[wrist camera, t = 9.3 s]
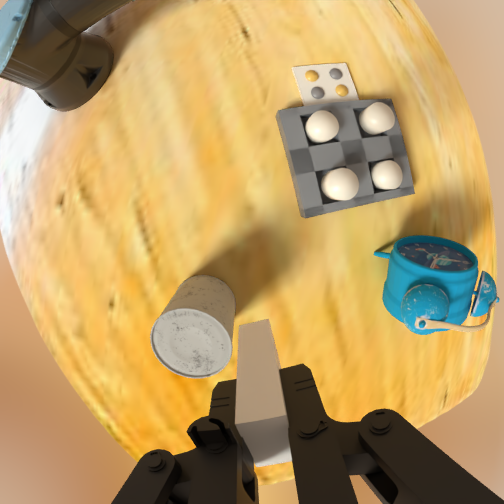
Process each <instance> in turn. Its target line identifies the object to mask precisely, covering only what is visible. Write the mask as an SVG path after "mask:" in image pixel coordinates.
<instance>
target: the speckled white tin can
mask: <svg viewBox="0 0 504 504" xmlns="http://www.w3.org/2000/svg"><path fill="white" fill-rule="evenodd" d="M235 310H236V302H235V297H234V295H233V292H232V291H231V289H230V288H229V287H228V286H227V285H226V284H225V283H224V282H223V281H221V280H220V279H218V278H215V277H213V276H208V275H197V276H194V277H190V278H189V279H187V280H185V281H184V282H183V283H182V284H181V285H180V286H179V288H178V290H177V291H176V293H175V295H174V296H173V297H172V299H171V300H170V302H169V303H168V305H167V306H166V308H165V309H164V311H163V312H162V314H161V315H160V317H159V318H158V319H157V320H156V321H155V323H154V325H153V327H152V330H151V334H150V338H151V346H152V349H153V352H154V353H155V355H156V357H157V359H158V360H159V361H160V362H161V363H162V364H163V365H164V366H165V367H166V368H168V369H169V370H170V371H172V372H174V373H176V374H178V375H181V376H184V377H189V378H205V377H210V376H212V375H215V374H217V373H218V372H220V371H221V370H222V369H224V368H225V366H226V365H227V364H228V362H229V360H230V358H231V355H232V337H233V326H234V315H235Z"/></svg>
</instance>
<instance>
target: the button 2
mask: <svg viewBox="0 0 504 504" xmlns="http://www.w3.org/2000/svg"><path fill="white" fill-rule="evenodd" d="M321 188H322V191H323V193H324V194H325V195H326V196H327V197H328V198H330V199H333V200H350V199H352V198H353V197H354V196H355V195H356V194H357V192H358V189H359V181H358V178H357V176H356V175H355V173H354V172H353V171H351V170H350V169H347V168H339V169H335V170H331V171H328V172H327V173H326V174H325V175H324V176H323V178H322V181H321Z"/></svg>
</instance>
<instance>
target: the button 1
mask: <svg viewBox="0 0 504 504" xmlns="http://www.w3.org/2000/svg"><path fill="white" fill-rule="evenodd" d="M338 131H339V123H338V120H337V119H336V117H335V116H334V115H333V114H332V113H330V112H328V111H324V110H321V111H317V112H315V113H313V114H312V115H311V117H310V118H309V119H308V120H307V121H306V123H305V125H304V132H305V135H306V138H307V139H308V140H309V141H311V142H312V143H315V144H323V143H325V142H327V141H328V140H330V139H332V138H333V137H335V136H336V135H337V133H338Z"/></svg>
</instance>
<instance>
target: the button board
mask: <svg viewBox="0 0 504 504" xmlns="http://www.w3.org/2000/svg"><path fill="white" fill-rule="evenodd" d="M376 102H381V103H384V104H386V105H387V106H389V107H390V108H391V110H392V111H393V113H394V117H395V123H394V126H393V127H392V128H391V129H389V130H387V131H384V132H382V133H379V134H376V135H372V134H369V133H367V132H365V131H364V130H363V128H362V127H361V125H360V123H359V115H360V113H361V112H362V111H363V110H364V109H366V108H367V107H369V106H370V105H372V104H373V103H376ZM321 110H324V111H328V112H330V113H332V114H333V115H334V116H335V117H336V119H337V120H338V123H339V131H338V133H337V135H336V136H335V137H333V138H332V139H330V140H328V141H327V142H325V143H323V144H315V143H312V142H311V141H309V140H308V139H307V138H306V135H305V132H304V125H305V123H306V121H307V120H308V119H309V118H310V117H311V115H312V114H313V113H315V112H317V111H321ZM276 120H277V123H278V127H279V130H280V134H281V137H282V141H283V145H284V149H285V152H286V156H287V160H288V164H289V168H290V172H291V176H292V180H293V184H294V188H295V192H296V197H297V201H298V205H299V209H300V214H301V217H304V218H309V217H313V216H317V215H322V214H326V213H330V212H334V211H339V210H343V209H347V208H352V207H356V206H361V205H365V204H370V203H374V202H379V201H383V200H388V199H392V198H397V197H402V196H406V195H411V194H415V192H414V186H413V181H412V176H411V171H410V166H409V161H408V157H407V152H406V148H405V144H404V140H403V136H402V133H401V129H400V126H399V122H398V119H397V115H396V112H395V109H394V106H393V103H392V100H391V99H371V100H355V101H343V102H333V103H324V104H316V105H309V106H302V107H295V108H289V109H283V110H278V112H277V114H276ZM388 160H391V161H394V162H396V163H397V164H398V165H399V166H400V168H401V170H402V174H403V179H402V182H401V184H400V186H399V187H398V188H396V189H377V188H375V187H374V186H373V185H372V180H371V175H370V171H369V168H370V167H371V166H372V165H373V164H374V163H378V162H383V161H388ZM339 168H347V169H350V170H351V171H353V172H354V173H355V175H356V176H357V178H358V181H359V189H358V192H357V194H356V195H355V196H354V197H353V198H352V199H350V200H333V199H330V198H328V197H327V196H326V195H325V194H324V193H323V191H322V188H321V181H322V178H323V176H324V175H325V174H326V173H327V172H328V171H331V170H335V169H339Z"/></svg>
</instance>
